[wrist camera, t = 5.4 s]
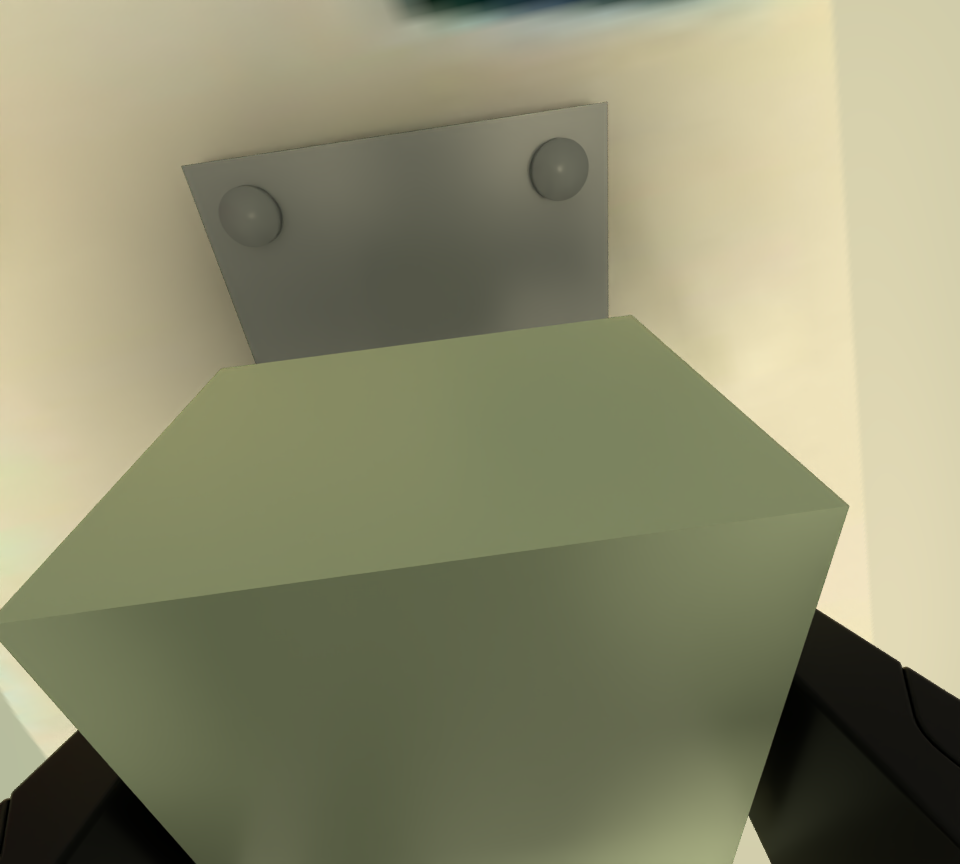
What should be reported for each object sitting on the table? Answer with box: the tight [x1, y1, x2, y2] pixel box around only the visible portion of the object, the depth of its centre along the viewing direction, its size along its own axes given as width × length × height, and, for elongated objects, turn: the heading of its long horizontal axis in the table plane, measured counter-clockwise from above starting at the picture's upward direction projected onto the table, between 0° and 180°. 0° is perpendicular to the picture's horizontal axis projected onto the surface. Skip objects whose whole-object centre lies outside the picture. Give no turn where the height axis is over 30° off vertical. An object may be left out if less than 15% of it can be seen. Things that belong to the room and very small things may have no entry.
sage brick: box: [0, 315, 849, 864], centre depth 7 cm, size 6×6×4 cm
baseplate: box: [181, 102, 608, 364], centre depth 18 cm, size 12×12×2 cm
